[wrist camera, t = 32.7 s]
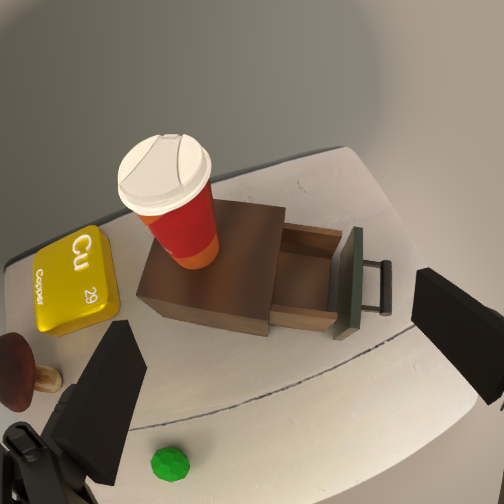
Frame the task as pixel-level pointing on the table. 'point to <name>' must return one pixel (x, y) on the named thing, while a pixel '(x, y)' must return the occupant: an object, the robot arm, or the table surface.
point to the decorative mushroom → (22, 373)
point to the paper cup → (173, 196)
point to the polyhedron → (170, 464)
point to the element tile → (74, 283)
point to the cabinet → (222, 273)
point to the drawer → (323, 281)
